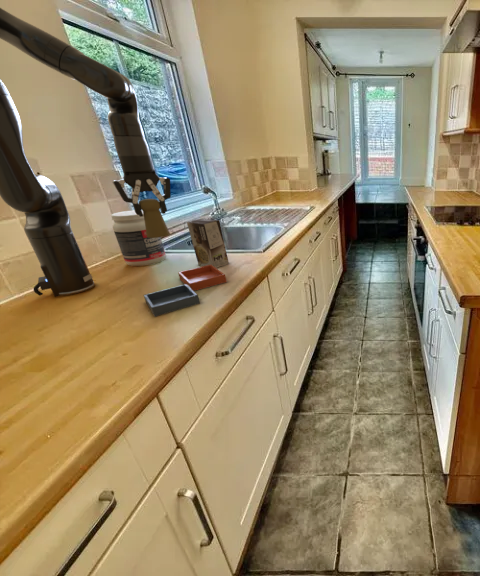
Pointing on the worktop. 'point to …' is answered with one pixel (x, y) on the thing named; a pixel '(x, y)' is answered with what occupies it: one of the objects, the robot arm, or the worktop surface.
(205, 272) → the terracotta tray
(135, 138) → the robot arm
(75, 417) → the worktop surface
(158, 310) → the slate tray
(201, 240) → the coffee box
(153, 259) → the supplement tub
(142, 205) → the cork
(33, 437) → the worktop surface
